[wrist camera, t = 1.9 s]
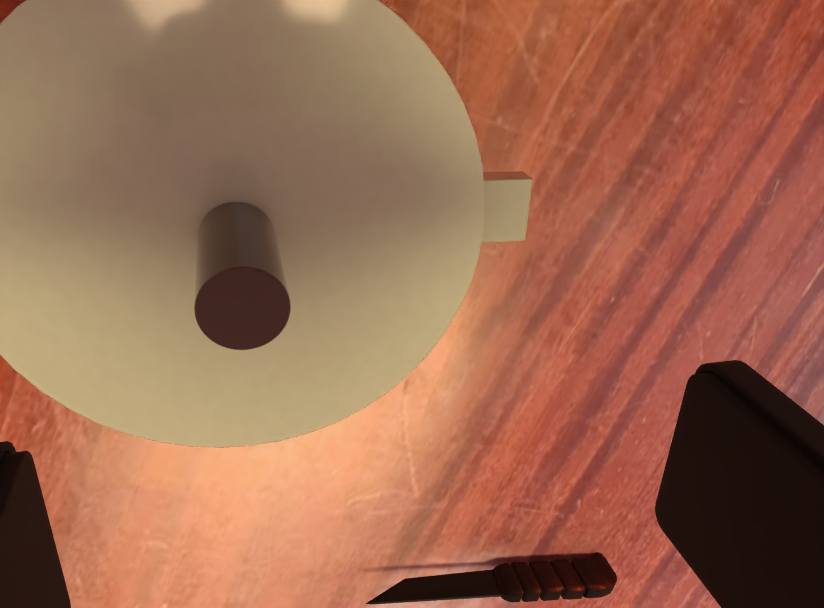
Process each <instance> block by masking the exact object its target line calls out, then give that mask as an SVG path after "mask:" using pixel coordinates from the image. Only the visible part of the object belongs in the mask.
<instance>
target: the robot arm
mask: <svg viewBox="0 0 824 608" xmlns="http://www.w3.org/2000/svg"><path fill="white" fill-rule="evenodd" d="M655 512H656V517H657V521H658V523H659V526H660V527H661V529H662V530H663V532H664V533H665V534H666V536H667V537H668V538H669V540H670V541H671V542H672V543H673V545H674V546H675V547H676V549H677V550H678V551H679V553H680V554H681V555H682V557H683V558H684V559H685V561H686V562H687V563H688V564H689V566H690V567H691V568H692V570H693V571H694V572H695V574H696V575H697V576H698V578H699V579H700V580H701V582H702V583H703V584H704V585H705V587H706V588H707V589H708V591H709V592H710V593H711V595H712V596H713V597H714V599H715V600H716V601H717V603H718V604H719V605H720V606H721V608H824V425H823V424H821V423H820V422H819V421H818V420H816V419H815V418H814V417H813V416H811V415H810V414H809V413H808V412H806V411H805V410H804V409H802V408H801V407H800V406H799V405H797V404H796V403H795V402H794V401H792V400H791V399H790V398H789V397H787V396H786V395H785V394H784V393H782V392H781V391H780V390H779V389H777V388H776V387H775V386H774V385H772V384H771V383H770V382H768V381H767V380H766V379H765V378H763V377H762V376H761V375H760V374H758V373H757V372H756V371H755V370H753V369H752V368H751V367H750V366H748V365H747V364H745V363H744V362H742V361H737V360H732V361H723V362H715V363H706V364H703V365H701V366H700V367H699V368H698V369H697V370H696V373H695V374H694V375H692V376H691V377H690V378H689V380H688V382H687V385H686V389H685V393H684V397H683V401H682V405H681V408H680V412H679V416H678V420H677V424H676V428H675V431H674V435H673V439H672V443H671V447H670V451H669V455H668V458H667V462H666V466H665V470H664V474H663V478H662V481H661V485H660V489H659V493H658V497H657V501H656V506H655ZM0 608H71V604H70V599H69V595H68V591H67V587H66V583H65V580H64V576H63V572H62V568H61V564H60V560H59V557H58V553H57V549H56V545H55V541H54V537H53V534H52V530H51V526H50V522H49V518H48V514H47V511H46V507H45V503H44V499H43V495H42V491H41V488H40V484H39V480H38V476H37V472H36V468H35V464H34V461H33V458H32V455H31V454H30V452H28V451H22V452H16V450H15V447H14V446H13V445H12V443H11V442H8V441H6V442H0Z"/></svg>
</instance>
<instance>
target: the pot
mask: <svg viewBox="0 0 824 608" xmlns="http://www.w3.org/2000/svg"><path fill="white" fill-rule="evenodd" d="M483 175H484V186H485V219H484V230H483V236H482V242H481V243H486V242H505V241H524V240H525V236H526V228H527V221H528V213H529V206H530V198H531V190H532V183H533V179H532V178H530V177H529V176H528V175H527V174H525V173H524V172H522V171H521V172H484V173H483Z"/></svg>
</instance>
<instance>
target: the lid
mask: <svg viewBox="0 0 824 608" xmlns="http://www.w3.org/2000/svg"><path fill="white" fill-rule="evenodd" d="M484 219H485V186H484V175H483V165H482V160H481V156H480V152H479V147H478V143H477V139H476V134H475V131H474V129H473V126H472V123H471V121H470V118H469V116H468V113H467V110H466V108H465V105H464V102H463V101H462V99H461V97H460V95H459V93H458V91H457V90H456V88H455V86H454V84H453V82H452V80H451V78H450V77H449V75H448V73H447V71H446V70H445V69H444V67H443V66H442V65H441V63H440V62H439V61H438V59H437V58H436V56H435V55H434V54H433V52H432V51H431V50H430V48H429V47H428V45H427V44H426V43H425V42H424V41H423V40H422V39H421V38H420V37H419V36H418V35H417V34H416V33H415V32H414V31H413V30H412V28H411V27H410V26H409V25H408V24H407V23H406V22H405V21H404V20H403V19H402V18H401V17H400V16H398V15H397V14H396V13H395V12H393V11H392V10H391V9H390V8H388V7H387V6H386V5H385V4H383V3H382V2H381V1H379V0H25V1H24V2H22V3H21V4H20V5H18V6H17V7H16V8H15V9H14V10H13V11H12V12H11V13H10V14H9V15H8V16H7V17H6V18H5V19H4V20H3V21H2V22H1V23H0V355H1V356H2V357H3V358H4V359H5V360H6V361H7V362H8V363H9V364H10V365H11V367H12V368H13V369H14V370H16V371H17V372H18V373H19V374H20V375H22V376H23V377H24V378H25V379H27V380H28V381H29V382H30V383H31V384H33V385H34V386H35V387H36V388H37V389H39V390H40V391H41V392H43V393H44V394H46V395H48V396H49V397H51V398H52V399H54V400H55V401H57V402H58V403H60V404H62V405H63V406H65V407H66V408H68V409H70V410H72V411H74V412H76V413H78V414H80V415H82V416H84V417H86V418H88V419H90V420H92V421H94V422H96V423H98V424H101V425H104V426H106V427H109V428H112V429H115V430H117V431H120V432H123V433H126V434H128V435H132V436H136V437H140V438H144V439H148V440H152V441H157V442H161V443H169V444H176V445H183V446H190V447H217V448H224V447H239V446H253V445H259V444H265V443H271V442H277V441H282V440H286V439H289V438H293V437H297V436H300V435H304V434H307V433H311V432H313V431H316V430H318V429H321V428H324V427H326V426H329V425H331V424H334V423H336V422H338V421H340V420H342V419H344V418H346V417H348V416H350V415H352V414H354V413H356V412H358V411H360V410H362V409H363V408H365V407H366V406H368V405H369V404H371V403H373V402H374V401H376V400H377V399H379V398H380V397H382V396H383V395H385V394H386V393H387V392H389V391H390V390H391V389H392V388H394V387H395V386H396V385H397V384H398V383H400V382H401V381H402V380H403V379H404V378H406V377H407V376H408V375H409V374H410V373H411V372H412V371H413V370H414V369H415V368H416V367H417V366H418V365H419V364H420V363H421V362H422V361H423V360H424V359H425V357H426V356H427V355H428V354H429V353H430V352H431V350H432V349H433V348H434V346H435V345H436V344H437V342H438V341H439V340H440V339H441V337H442V336H443V335H444V333H445V332H446V330H447V329H448V327H449V325H450V323H451V322H452V320H453V318H454V317H455V315H456V313H457V312H458V310H459V308H460V306H461V304H462V302H463V299H464V297H465V295H466V293H467V290H468V288H469V286H470V284H471V281H472V277H473V274H474V271H475V267H476V264H477V261H478V258H479V254H480V248H481V242H482V236H483V230H484Z"/></svg>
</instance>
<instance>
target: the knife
mask: <svg viewBox="0 0 824 608" xmlns="http://www.w3.org/2000/svg"><path fill="white" fill-rule="evenodd" d="M616 581H617V576H616V574H615V572H614V571H613V569H612V568H611V566H610V564H609V563H608V561H607V560H606V558H605V557H604V556H602V555H601V554H600V553H598V554H597V555H596V557H594V558H591V559H573V560H572V562H571V563H570V562H569V561H568V560H565V559H562V560H552V561H551V562H547V561H532V562H530V563H529V566H528V565H527V563H526V562H512V564H511V566H510V564H509V563H503V564H500V565H498V566H496V567H495V568H494V569H492V570H483V571H474V572H464V573H455V574H445V575H436V576H426V577H417V578H407V579H404V580H402V581H401V582H399V583H397V584H396V585H394V586H393V587H391V588H390V589H388V590H386V591H385V592H383V593H382V594H380V595H379V596H377V597H375V598H374V599H372V600H371V601H369V602H368V603H366V604H386V603H402V602H419V601H435V600H452V599H469V598H485V597H501V598H502V599H504V600H506V601H509V602H520V600H521V598H522V600H523V601H524V602H531V601H538V599H539V597H540V598H541V600H543V601H547V600H558V599H559V597H560V595H561V596H562V598H563V599H580V598H582V596H584V597H585V598H598V597H603V596H606V595H608V594H610V593H611V591H612V590H613V588H614V586H615V584H616Z"/></svg>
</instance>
